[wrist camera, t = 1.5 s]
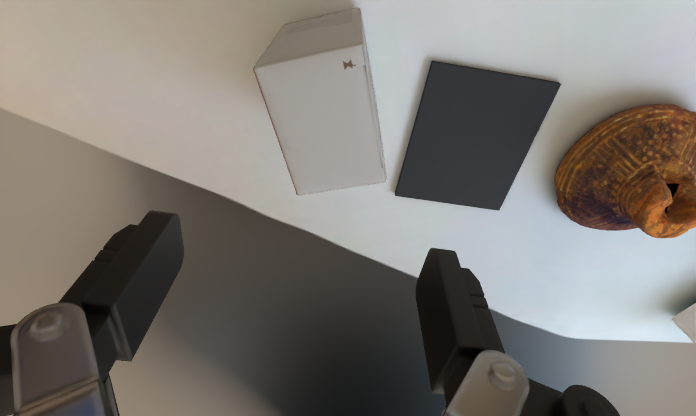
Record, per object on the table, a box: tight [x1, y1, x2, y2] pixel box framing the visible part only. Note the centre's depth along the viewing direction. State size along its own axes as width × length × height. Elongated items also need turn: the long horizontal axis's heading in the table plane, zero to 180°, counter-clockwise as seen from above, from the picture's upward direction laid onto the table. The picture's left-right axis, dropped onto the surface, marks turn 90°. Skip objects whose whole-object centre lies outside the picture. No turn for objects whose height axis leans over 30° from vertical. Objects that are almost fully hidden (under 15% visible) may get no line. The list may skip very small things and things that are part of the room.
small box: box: [253, 8, 387, 195], centre depth 24 cm, size 8×6×10 cm
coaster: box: [395, 61, 561, 210], centre depth 31 cm, size 10×12×1 cm
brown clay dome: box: [555, 104, 696, 238], centre depth 30 cm, size 12×12×7 cm
